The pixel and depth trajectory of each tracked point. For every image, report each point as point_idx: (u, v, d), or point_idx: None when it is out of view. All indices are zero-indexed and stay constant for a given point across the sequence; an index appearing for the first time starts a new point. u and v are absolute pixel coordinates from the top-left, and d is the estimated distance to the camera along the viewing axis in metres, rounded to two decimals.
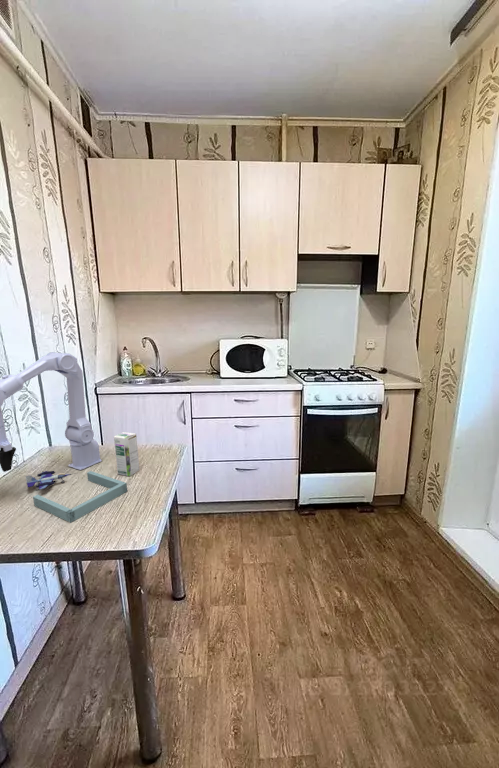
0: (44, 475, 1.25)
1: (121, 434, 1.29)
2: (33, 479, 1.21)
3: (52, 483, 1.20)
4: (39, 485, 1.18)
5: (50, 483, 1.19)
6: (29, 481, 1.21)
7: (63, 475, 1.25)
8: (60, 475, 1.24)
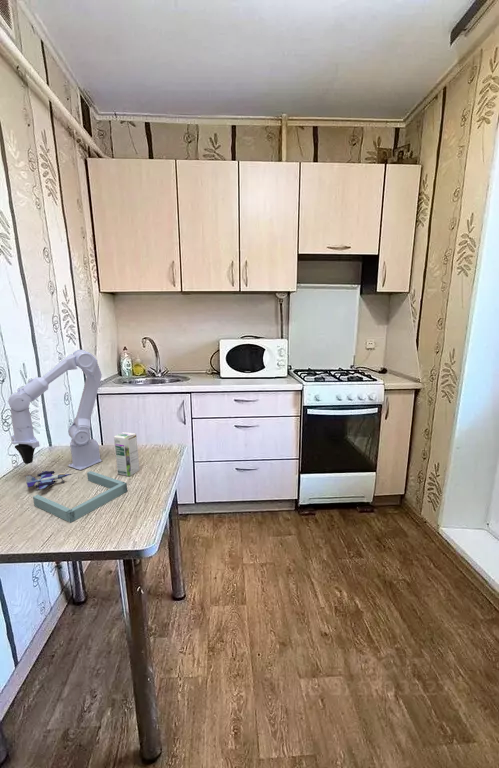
0: (44, 475, 1.25)
1: (121, 434, 1.29)
2: (33, 479, 1.21)
3: (52, 483, 1.20)
4: (39, 485, 1.18)
5: (50, 483, 1.19)
6: (29, 481, 1.21)
7: (63, 475, 1.25)
8: (60, 475, 1.24)
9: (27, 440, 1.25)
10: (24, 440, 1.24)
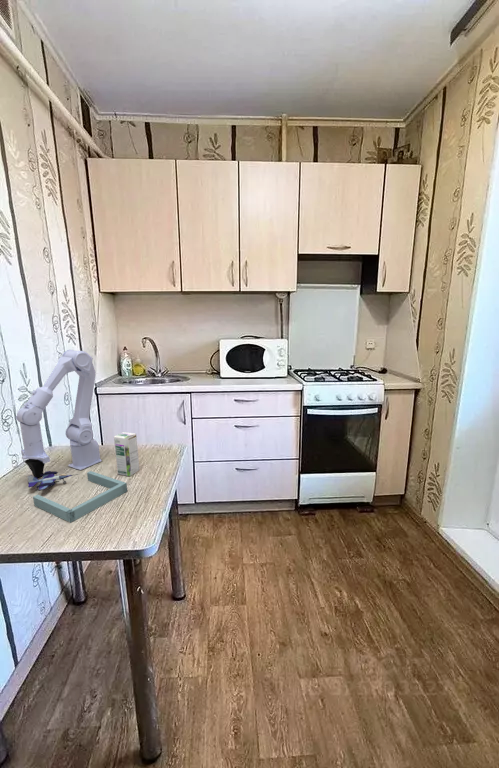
0: (46, 475, 1.25)
1: (121, 434, 1.29)
2: (35, 479, 1.21)
3: (52, 484, 1.19)
4: (39, 485, 1.18)
5: (50, 484, 1.19)
6: (31, 481, 1.20)
7: (64, 476, 1.24)
8: (61, 476, 1.23)
9: (37, 455, 1.23)
10: (34, 455, 1.23)
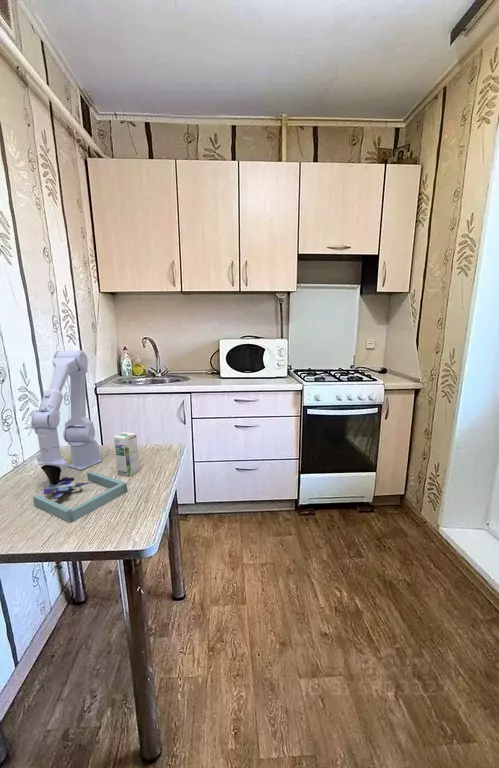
0: (63, 482, 1.20)
1: (121, 434, 1.29)
2: (51, 486, 1.16)
3: (68, 492, 1.13)
4: (55, 493, 1.12)
5: (66, 492, 1.13)
6: (47, 488, 1.16)
7: (81, 483, 1.18)
8: (78, 483, 1.18)
9: (54, 461, 1.18)
10: (51, 461, 1.17)
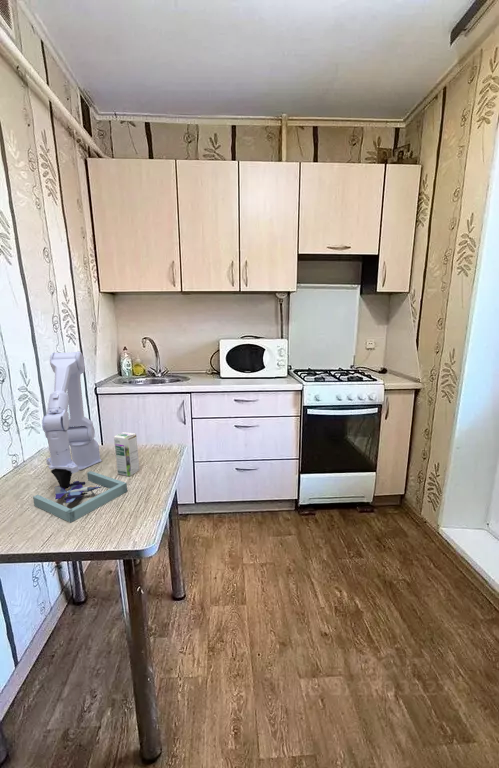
0: (74, 486, 1.17)
1: (121, 434, 1.29)
2: (62, 490, 1.13)
3: (80, 496, 1.11)
4: (67, 498, 1.09)
5: (78, 496, 1.10)
6: (58, 492, 1.13)
7: (93, 488, 1.15)
8: (90, 487, 1.15)
9: (65, 464, 1.15)
10: (62, 464, 1.15)
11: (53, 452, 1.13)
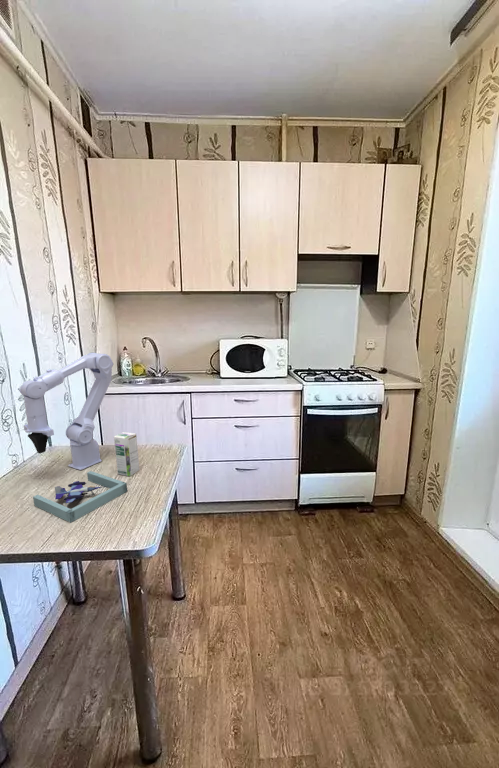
0: (74, 486, 1.17)
1: (121, 434, 1.29)
2: (62, 490, 1.13)
3: (80, 497, 1.11)
4: (67, 498, 1.09)
5: (78, 496, 1.10)
6: (58, 492, 1.13)
7: (93, 488, 1.15)
8: (90, 488, 1.15)
9: (41, 429, 1.23)
10: (38, 429, 1.23)
11: (30, 417, 1.22)
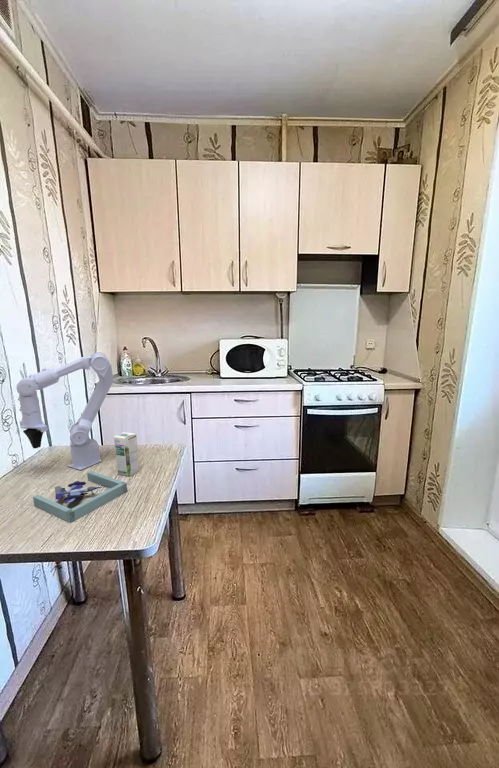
0: (74, 486, 1.17)
1: (121, 434, 1.29)
2: (62, 490, 1.13)
3: (80, 497, 1.11)
4: (67, 498, 1.09)
5: (78, 496, 1.10)
6: (58, 492, 1.13)
7: (93, 488, 1.15)
8: (90, 488, 1.15)
9: (35, 425, 1.28)
10: (32, 424, 1.27)
11: (24, 413, 1.26)
